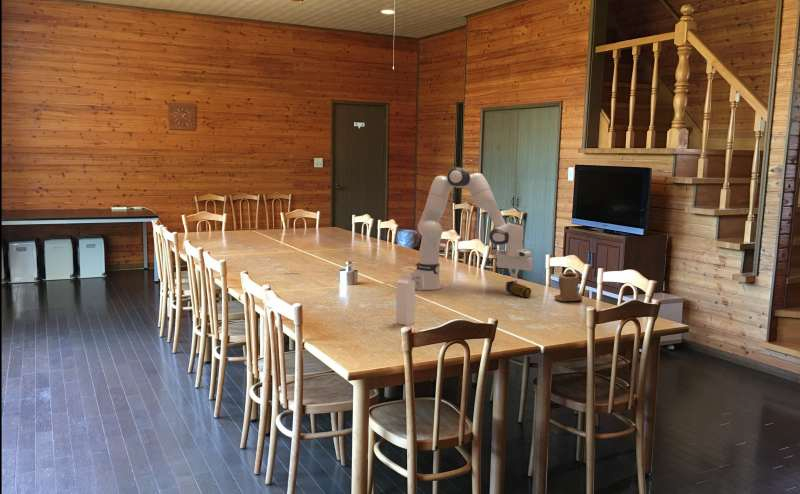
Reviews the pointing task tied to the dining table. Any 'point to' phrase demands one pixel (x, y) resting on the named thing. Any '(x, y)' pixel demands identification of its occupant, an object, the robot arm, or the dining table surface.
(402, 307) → the milk
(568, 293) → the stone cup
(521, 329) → the dining table surface
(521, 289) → the condiment
